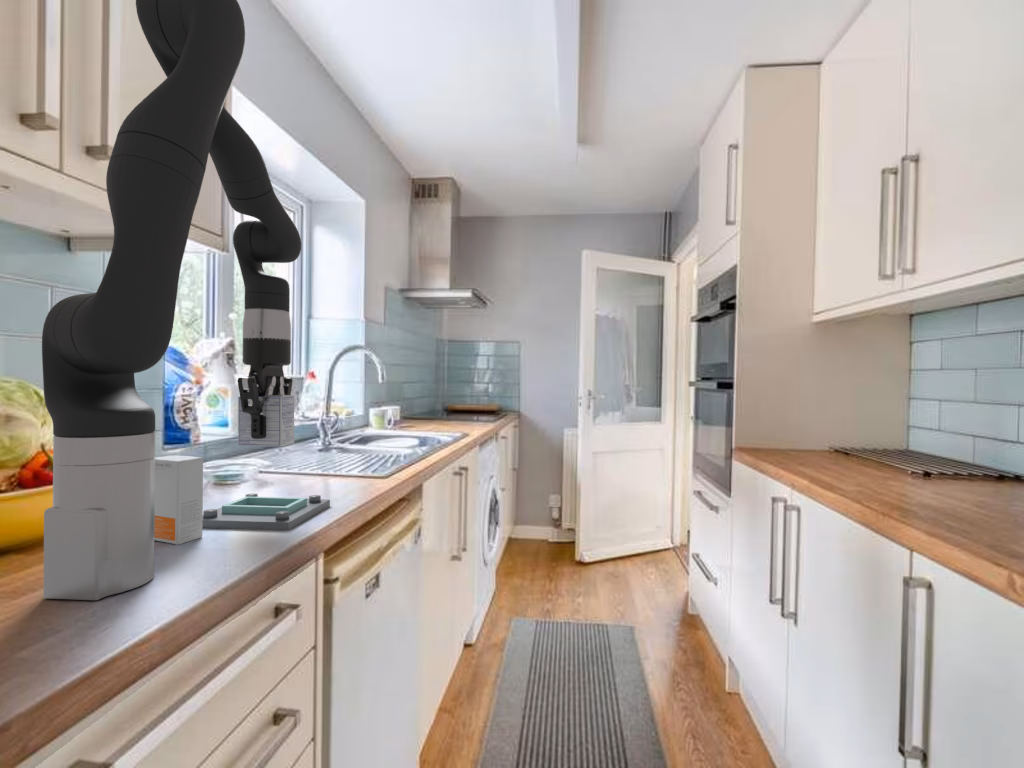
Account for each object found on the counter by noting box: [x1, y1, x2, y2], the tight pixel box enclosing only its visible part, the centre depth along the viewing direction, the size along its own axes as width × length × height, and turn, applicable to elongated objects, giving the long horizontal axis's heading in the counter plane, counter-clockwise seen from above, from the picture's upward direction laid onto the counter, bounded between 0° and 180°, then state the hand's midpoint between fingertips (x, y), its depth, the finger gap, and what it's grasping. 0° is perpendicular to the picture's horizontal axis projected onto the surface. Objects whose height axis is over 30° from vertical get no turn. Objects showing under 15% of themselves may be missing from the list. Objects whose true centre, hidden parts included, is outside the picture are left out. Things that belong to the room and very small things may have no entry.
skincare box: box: [154, 454, 204, 546], centre depth 78 cm, size 6×4×12 cm
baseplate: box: [202, 492, 331, 531], centre depth 91 cm, size 16×16×2 cm
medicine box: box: [237, 394, 295, 448], centre depth 91 cm, size 8×4×9 cm, turn 84°
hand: (266, 436), depth 91 cm, fingers closed on medicine box, 4 cm apart
